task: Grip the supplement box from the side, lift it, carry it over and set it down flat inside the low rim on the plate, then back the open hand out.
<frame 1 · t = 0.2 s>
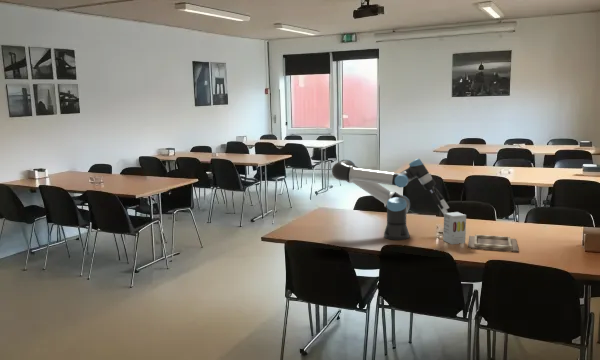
hand: (446, 211, 311), 15 cm above the table, tool tilted 35°, fingers open, 13 cm apart
supplement box: (454, 242, 298), on the table
collar: (492, 244, 291), on the table
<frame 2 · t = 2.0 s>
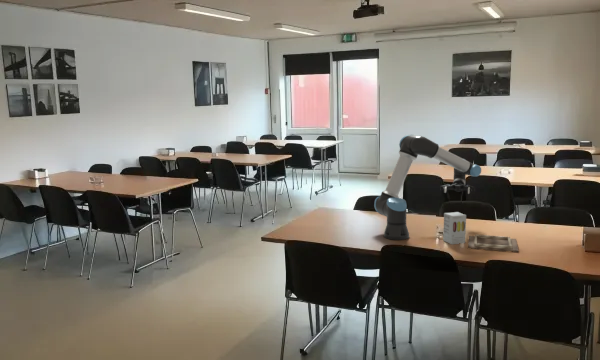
hand: (456, 190, 307), 28 cm above the table, tool horizontal, fingers open, 13 cm apart
nothing on the table moved.
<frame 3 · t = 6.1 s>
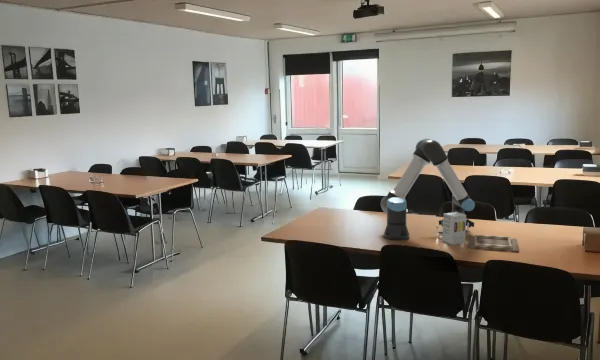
hand: (455, 226, 297), 9 cm above the table, tool horizontal, fingers open, 13 cm apart
supplement box: (453, 242, 297), on the table, touching gripper
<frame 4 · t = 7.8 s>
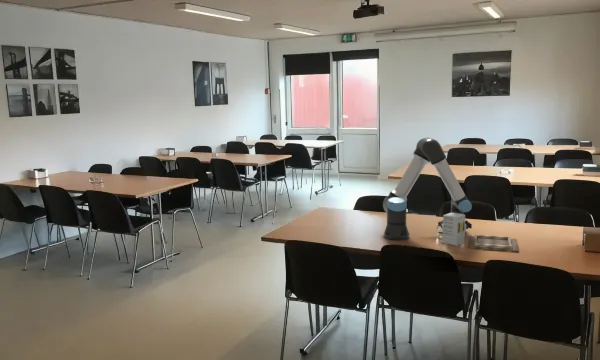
hand: (453, 228, 293), 9 cm above the table, tool horizontal, fingers closed on supplement box, 12 cm apart
supplement box: (453, 243, 296), on the table, touching gripper
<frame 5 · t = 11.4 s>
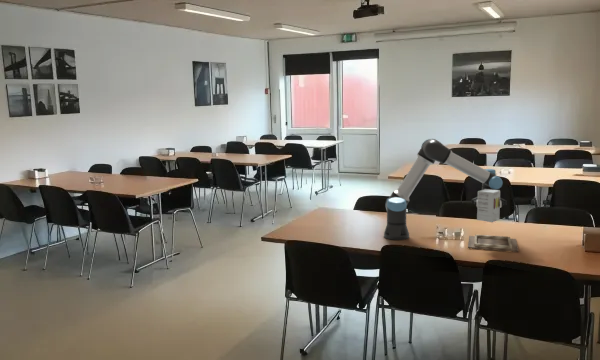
hand: (488, 204, 285), 24 cm above the table, tool horizontal, fingers closed on supplement box, 12 cm apart
supplement box: (488, 220, 288), point 15 cm above the table, touching gripper
when the fingers open (11 cm above the table, at t = 15.4 s): supplement box stays where it is, resting on collar.
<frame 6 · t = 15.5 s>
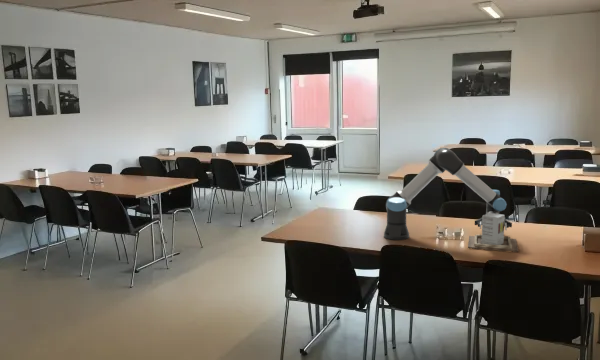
hand: (493, 227, 286), 11 cm above the table, tool horizontal, fingers open, 13 cm apart
supplement box: (492, 244, 289), point 1 cm above the table, touching collar
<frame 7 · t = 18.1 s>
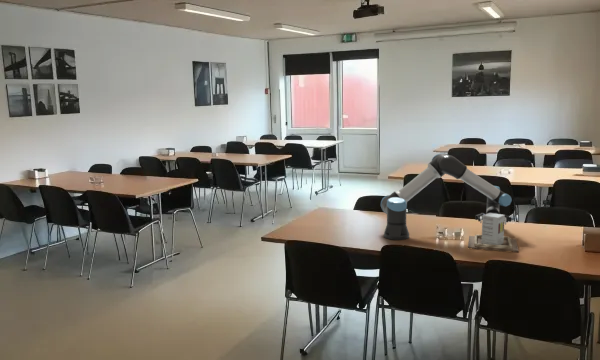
hand: (493, 221, 298), 11 cm above the table, tool horizontal, fingers open, 13 cm apart
nothing on the table moved.
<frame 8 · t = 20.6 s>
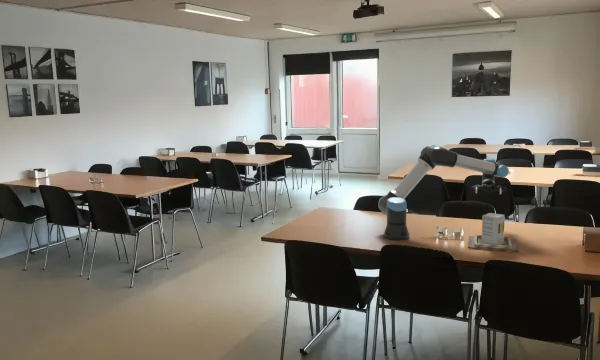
hand: (488, 191, 301), 28 cm above the table, tool horizontal, fingers open, 13 cm apart
nothing on the table moved.
at the end: supplement box inside the target area on the collar (2.3 cm from its centre), point 0.8 cm above the collar's base; supplement box tilted 0°; the gripper is holding nothing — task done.
